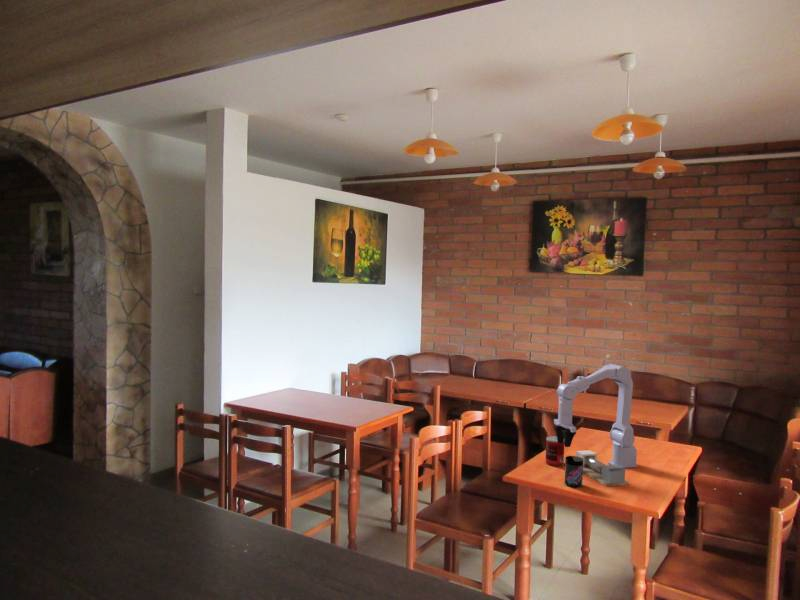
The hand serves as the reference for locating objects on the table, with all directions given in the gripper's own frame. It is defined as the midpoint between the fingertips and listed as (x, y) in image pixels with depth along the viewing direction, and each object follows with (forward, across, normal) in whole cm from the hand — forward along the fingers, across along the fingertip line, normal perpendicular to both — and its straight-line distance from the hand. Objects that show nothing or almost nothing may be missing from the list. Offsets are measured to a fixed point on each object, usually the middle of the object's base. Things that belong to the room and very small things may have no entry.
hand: (563, 444), depth 242 cm
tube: (+9, +5, +11) cm, 15 cm away
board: (+10, +8, +11) cm, 17 cm away
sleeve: (+10, 0, +11) cm, 15 cm away
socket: (+9, +19, +11) cm, 24 cm away
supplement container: (+11, +18, -6) cm, 22 cm away
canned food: (+10, -7, 0) cm, 13 cm away
